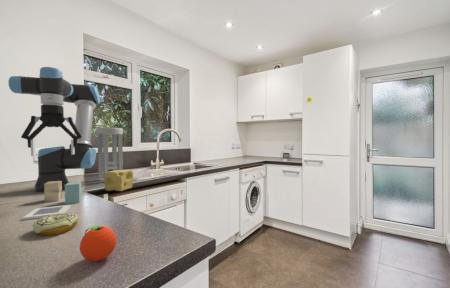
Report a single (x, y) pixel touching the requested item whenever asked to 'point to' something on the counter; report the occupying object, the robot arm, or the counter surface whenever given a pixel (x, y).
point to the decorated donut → (55, 224)
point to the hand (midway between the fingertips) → (53, 155)
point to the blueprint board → (46, 212)
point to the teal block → (73, 193)
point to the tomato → (97, 243)
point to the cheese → (118, 180)
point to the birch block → (53, 191)
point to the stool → (104, 162)
